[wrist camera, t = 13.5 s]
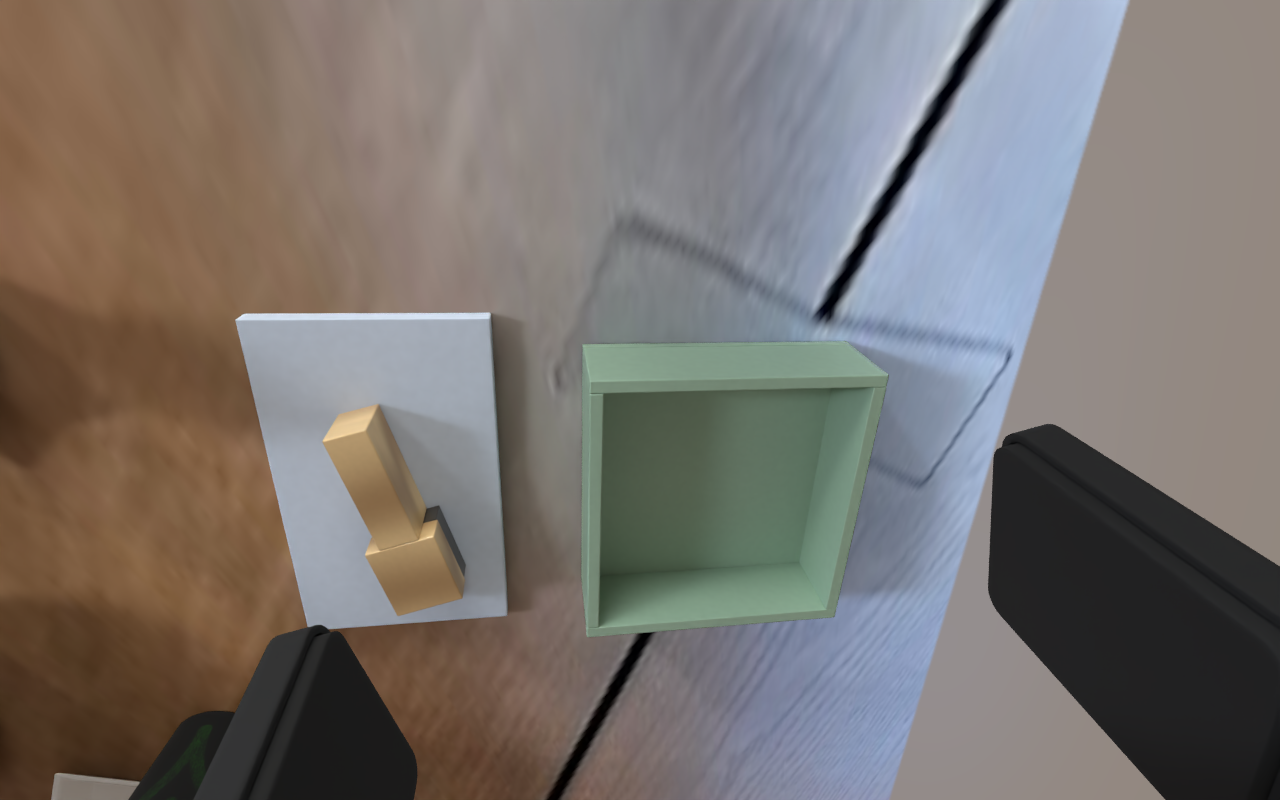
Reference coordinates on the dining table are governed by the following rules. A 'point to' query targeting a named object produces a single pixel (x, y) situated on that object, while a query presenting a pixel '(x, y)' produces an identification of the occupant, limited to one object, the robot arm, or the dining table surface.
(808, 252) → the dining table surface
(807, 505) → the basket
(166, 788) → the cup
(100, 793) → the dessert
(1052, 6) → the dining table surface
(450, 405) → the mat
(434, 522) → the brush
